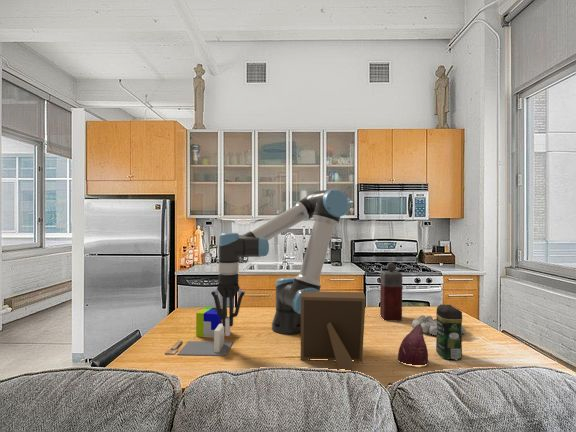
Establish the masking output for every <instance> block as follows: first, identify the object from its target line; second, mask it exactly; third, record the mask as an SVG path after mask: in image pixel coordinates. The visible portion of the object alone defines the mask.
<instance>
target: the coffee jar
mask: <svg viewBox="0 0 576 432" xmlns="http://www.w3.org/2000/svg"><path fill="white" fill-rule="evenodd" d="M436 318H437V336H435V337H436V339H435V340H436V343H435V345H436V346H435V352H436V353H437V355H438V356H440V357H441V356H442V357H444V358H449V359H459V360H461V359H462V358H463V344H462V340H463V338H462V337H463V336H462V335H463V334H462V332H461V327H462V326H463V311H462V310H460V309H458V308H457V307H455V306H453V305H452V304H439V305H438V306H437V307H436ZM442 357H441V358H442ZM444 358H443V359H444ZM460 358H461V359H460ZM449 359H448V360H449Z"/></svg>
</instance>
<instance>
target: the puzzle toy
mask: <svg viewBox="0 0 576 432" xmlns="http://www.w3.org/2000/svg"><path fill="white" fill-rule="evenodd" d="M221 310H222V313H223V307H221ZM195 315H196V316H195V317H196V318H195V324H196V325H195V332H196V333H195V337H197V338H198V337H201V338H213V339H214V330H215V329H216V328H217V326H218V325H219V324H223V318H222V317H220V316H218V314H217V309H216V307H214V306H213V307H212V306H211V307H209V306H205V307H203V308H202V309H201V310H199V311H197V312H196V313H195ZM224 334H225V326H224Z"/></svg>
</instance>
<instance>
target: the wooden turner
mask: <svg viewBox="0 0 576 432" xmlns="http://www.w3.org/2000/svg"><path fill="white" fill-rule="evenodd" d="M181 344H183V340H177V341H176V342H175V343H174V345H173V346H172V347H171V348H169V349H167V350H166V351H165V352H164V355H168V356H169V355H173V356H174V355H176V353H178V352H179V349H178V348H179V347H180V346H181Z"/></svg>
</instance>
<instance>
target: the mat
mask: <svg viewBox="0 0 576 432" xmlns="http://www.w3.org/2000/svg"><path fill="white" fill-rule="evenodd" d="M233 343H234V342H233V341H224V345H223V347H222V349H221V350H220V352H214V341H212V340H211V341H207V340H205V341H204V340H203V341H202V340H201V341H200V340H198V341H197V340H188V341H187V342H186V343H185V344H184V345H183V347H181V349H180V350H179V351H178V352H177V354H176V355H177V356H202V357H203V356H205V357H208V356H210V357H211V356H212V357H214V356H215V357H216V356H217V357H218V356H219V357H226V356H228V353H229V352H230V349H231V347H232V345H233Z"/></svg>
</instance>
